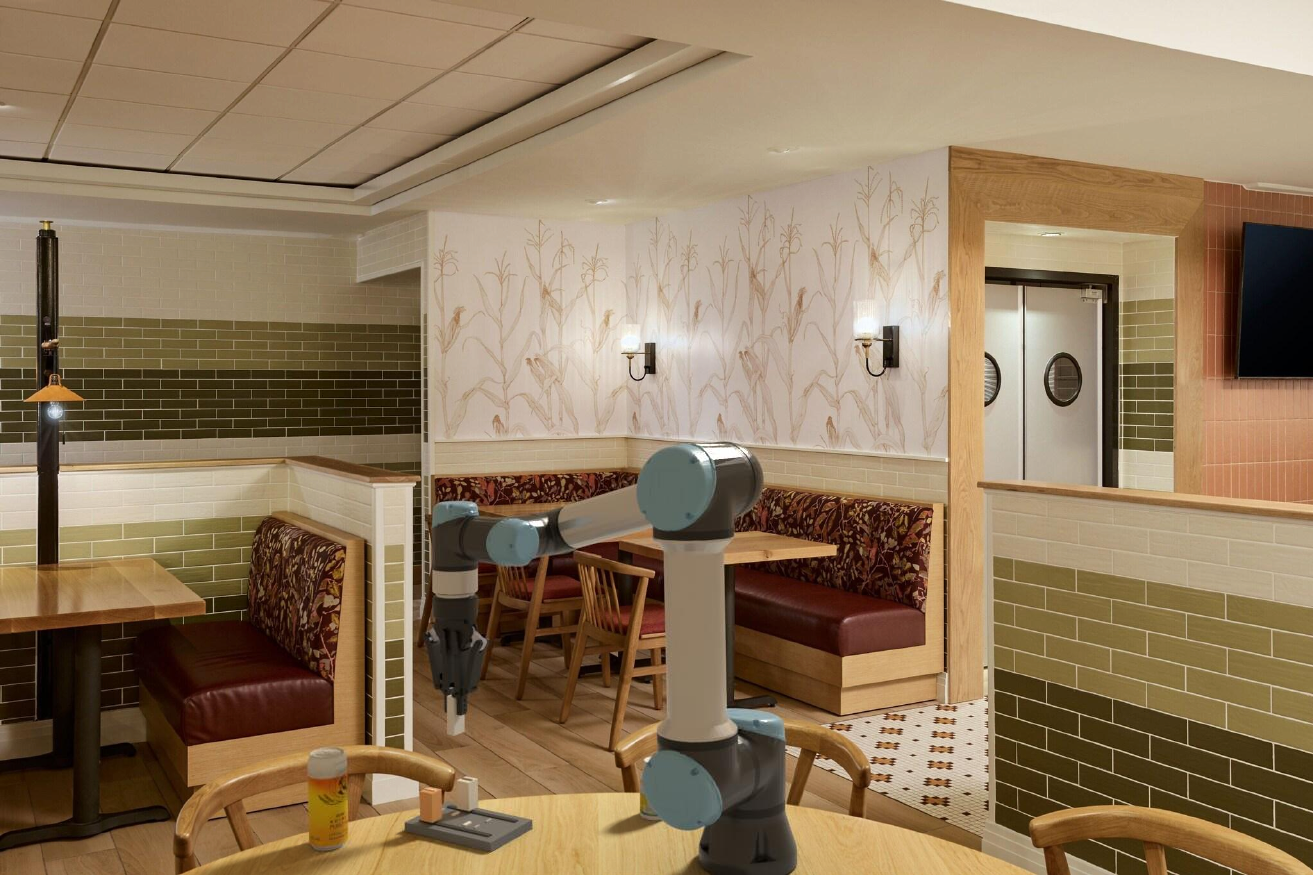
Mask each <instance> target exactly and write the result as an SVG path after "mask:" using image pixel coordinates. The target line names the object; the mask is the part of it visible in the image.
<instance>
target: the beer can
mask: <svg viewBox="0 0 1313 875" xmlns="http://www.w3.org/2000/svg"><path fill="white" fill-rule="evenodd" d="M306 767H307V800H308V801H307V808H308V810H307V811H308V843H309V845H311V846H312V848H313V849H314V850H316V851H324V852H325V851H333V850H336V849H339V848H341V847H344V845H345V844H346V842H347V841H348V840H349V804H348V803H349V802H348V800H349V799H348V756H347V755H346V752H345V749H344V748H342V747H336V746H328V747H321V748H317V749H313V750H312V751H310V753H309V757H308V759H307V766H306Z"/></svg>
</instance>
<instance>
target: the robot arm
mask: <svg viewBox="0 0 1313 875" xmlns="http://www.w3.org/2000/svg"><path fill="white" fill-rule="evenodd" d="M763 472H764V471H763V468H762V466H761V463H760V461H759V460H758V458H757V457H756V456H755V454H754V453H753V452H752V451H751V450H750V449H748V448H746V447H745V446H744V445H742V444H739V443H736V442H732V441H713V442H698V443H697V442H695V443H688V442H685V443H678V444H675V445H670V446H667V447H666V446H665V447H664V448H661V449H659V450H658V451H656V452H654V454H652V455H651V456H650V457H649V458H648V460H647V461H646V462H645V463H644V464H643V466H642V468H641V469H640V473H639V474H638V478H637V481H636V484H633V485H628V486H626V487H622V488H619V489H616V490H613V491H609V492H606V493H602V494H600V495H595V496H593V497H590V498H586V499H583V500H579V501H577V502H573V503H570V504H567V505H564V506H560V507H557V508H554V509H550V510H546V511H541V512H535V513H525V514H519V515H512V516H510V515H509V516H502V517H498V516H497V517H493V516H483V515H479V514H480V513H479V507H478V505H477V503H475V502H473V501H466V500H450V501H441V502H438V503H436V504H435V505H434V506H433V507H432V508H433V509H432V520H431V521H432V522H431V528H430V530H431V536H432V537H431V540H432V541H431V542H432V549H431V550H432V580H431V581H432V585H431V587H432V590H431V591H432V592H433V594H434V595H433V596H432V616H433V618H435V620H434V622H433V626H432V628H431V629H430V630H428V631H424V632H422V634H421V637H422V640H423V642H424V643H425V646H426V649H427V654H428V659H429V666H430V670H431V677H432V682H433V687H434V689H435V690H439V691H441V692H442V694H443V697H444V698H443V700H444V705H443V706H444V707H443V708H444V709H443V710H444V713H445V714H446V734H447V735H449V736H452V737H453V736H454V737H455V736H457V735H461V733H462V734H463V733H464V732H465V728H466V727H465V719H466V718H465V715H467V713H468V696H469V694H470V695H471V694H473V693H475V692H477V691H478V689H479V688H478V687H479V684H480V683H479V682H480V679H481V674H482V673H481V672H482V668H483V662H484V659H485V658H484V657H485V653H486V652H485V651H486V650H487V648H488V646H489V645H490V642H491V641H490V638H489V637H487V636H486V637H483V636H482V635H481V634H480V633H479V628H478V625H477V622H476V620H477V617H478V614H479V596H478V595H477V593H476V592H478V590H479V583H478V582H479V578H478V577H479V575H478V573H479V563H486V564H492V565H499V566H502V567H507V568H509V567H525V566H527V565H528V564H529V563H530V562H531V561H532V560H533V559H537V558H543V557H548V556H555V555H564V554H568V553H570V552H573V551H575V550H578V549H579V548H580V549H581V548H582V547H586V546H590V545H593V544H597V543H601V542H605V541H609V540H612V539H616V538H619V537H624V536H627V535H632V534H636V533H639V532H642V531H646V530H650V529H652V540H653V541H654V542H655V543H656V544H657V546H659V547H660V548H661V549H662V551H663V574H664V575H663V576H664V577H663V578H664V579H663V581H664V626H665V627H664V628H665V629H664V630H665V633H664V634H665V668H666V670H665V672H666V673H665V676H666V678H665V679H666V716H665V718H664V719H663V720H662V721H661V722H660V723H659V724H658V725H657V728H656V752H655V753H653V754H652V757H651V756H650V757H651V758H650V759H649V761H648V762H647V763H646V765H645V767H644V766H643V775H642V785H643V790H644V794H645V797H646V799H647V802H648V804H649V805H650V807H651V809H652V810H653V811H655V812H656V813H657V814H658V817H659V818H660V819H661V820H660V821H662V822H664V823H665V824H666V825H668V826H669V827H672V828H674V829H676V830H680V831H685V832H688V831H689V832H691V831H696V830H698V829H701V828H703V830H702V832H701V836H700V839H699V842H698V863H699V865H700V866H701V868H702V869H703V870H705V871H706V872H708V873H710V874H712V875H787V874H789V873H791V872H793V871H794V870H795V868H797V866H798V848H797V843H796V840H795V837H794V835H793V831H792V827H791V824H790V822H789V818H788V815H787V812H786V743H787V738H786V732H785V731H786V730H785V722H784V720H783V719H782V718H781V717H780V716H778V715H776V714H774V713H771V712H769V711H768V712H767V711H763V710H758V709H749V708H735V707H734V708H731V707H730V708H727V707H728V705H727V700H728V699H727V654H726V653H727V651H726V648H727V647H726V646H727V645H726V644H727V642H726V600H725V599H726V598H725V596H726V594H725V592H726V591H725V588H726V587H725V550H726V547H727V546H728V545H729V544H730V543H731V542H732V541H734V539H735V519H737V518H739V517H741V516H744V515H746V514H747V513H749V512H750V511H751V510H752V509H753V508H754V507H755V506H756V505H757V503H758V502H759V500H761V496H762V493H763V489H764V486H765V485H764V484H765V481H764V480H765V477H764V476H765V475H764V473H763Z"/></svg>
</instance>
